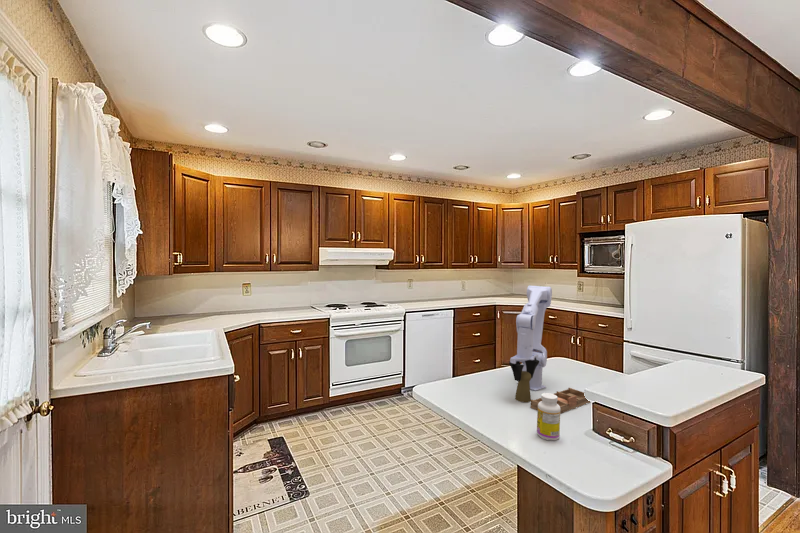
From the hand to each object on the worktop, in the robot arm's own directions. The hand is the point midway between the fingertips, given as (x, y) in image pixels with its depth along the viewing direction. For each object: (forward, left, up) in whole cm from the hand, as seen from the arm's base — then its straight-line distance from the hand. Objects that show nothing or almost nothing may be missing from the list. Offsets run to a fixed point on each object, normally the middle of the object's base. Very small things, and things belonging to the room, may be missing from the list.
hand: (523, 379), depth 144 cm
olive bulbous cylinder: (0, 0, -8) cm, 8 cm away
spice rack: (+11, +9, -8) cm, 16 cm away
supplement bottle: (+23, -18, -8) cm, 30 cm away
